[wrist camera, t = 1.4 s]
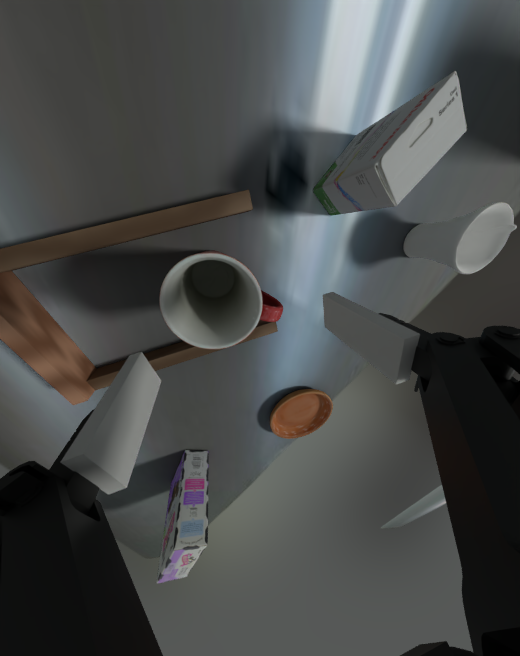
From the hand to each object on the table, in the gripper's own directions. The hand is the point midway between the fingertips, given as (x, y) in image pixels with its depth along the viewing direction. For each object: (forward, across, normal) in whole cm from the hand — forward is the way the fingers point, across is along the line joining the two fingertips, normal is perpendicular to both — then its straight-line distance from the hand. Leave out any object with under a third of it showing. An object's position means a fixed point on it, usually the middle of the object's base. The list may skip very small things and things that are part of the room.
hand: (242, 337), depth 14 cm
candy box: (+18, -23, -42) cm, 51 cm away
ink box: (+18, +20, +9) cm, 29 cm away
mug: (+18, 0, 0) cm, 18 cm away
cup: (+18, +35, -2) cm, 40 cm away
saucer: (+19, +8, -35) cm, 41 cm away
